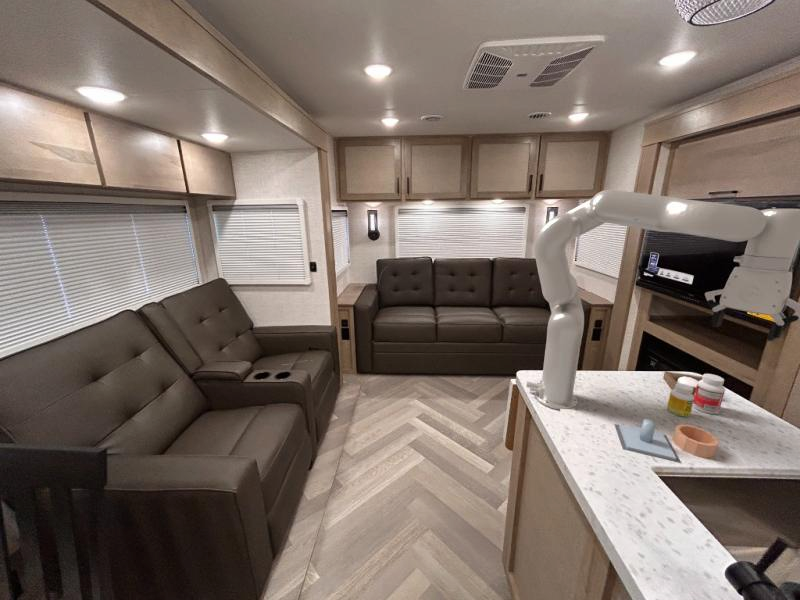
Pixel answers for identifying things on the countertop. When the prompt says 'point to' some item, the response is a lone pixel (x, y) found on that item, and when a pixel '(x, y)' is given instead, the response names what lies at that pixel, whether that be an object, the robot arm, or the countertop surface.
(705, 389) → the pill bottle
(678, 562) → the countertop surface
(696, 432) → the bowl
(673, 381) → the garlic corral
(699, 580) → the countertop surface
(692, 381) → the garlic
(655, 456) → the mat
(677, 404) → the supplement bottle
